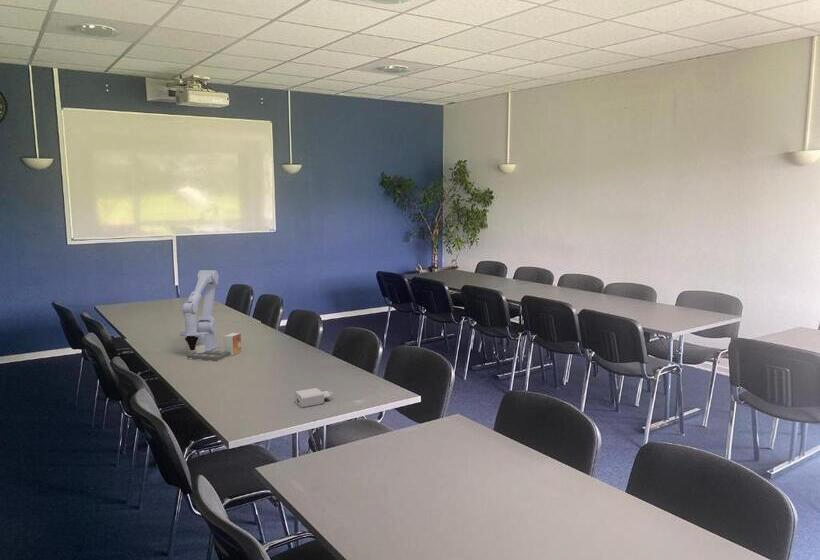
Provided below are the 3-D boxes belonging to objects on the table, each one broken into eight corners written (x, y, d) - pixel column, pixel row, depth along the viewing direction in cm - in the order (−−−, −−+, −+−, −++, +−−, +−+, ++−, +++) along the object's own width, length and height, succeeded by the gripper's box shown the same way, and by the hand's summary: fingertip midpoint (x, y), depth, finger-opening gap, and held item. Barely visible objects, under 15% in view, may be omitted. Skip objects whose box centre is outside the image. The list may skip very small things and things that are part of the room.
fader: (200, 351, 320) (200, 344, 319) (205, 351, 319) (205, 344, 318) (195, 353, 316) (195, 346, 315) (200, 353, 315) (200, 346, 315)
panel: (201, 353, 325) (201, 349, 324) (230, 355, 319) (230, 351, 319) (187, 358, 313) (187, 354, 313) (216, 361, 308) (216, 357, 308)
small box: (233, 355, 319) (232, 336, 317) (224, 354, 321) (223, 335, 319) (241, 352, 326) (241, 333, 325) (233, 351, 328) (232, 332, 327)
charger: (337, 402, 244) (302, 408, 237) (328, 395, 252) (294, 401, 245) (337, 390, 244) (301, 397, 237) (328, 384, 252) (294, 390, 244)
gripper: (174, 325, 315) (176, 350, 317) (197, 327, 311) (199, 352, 313) (183, 323, 322) (184, 347, 324) (206, 324, 318) (207, 349, 320)
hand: (192, 350), depth 319 cm, fingers closed
